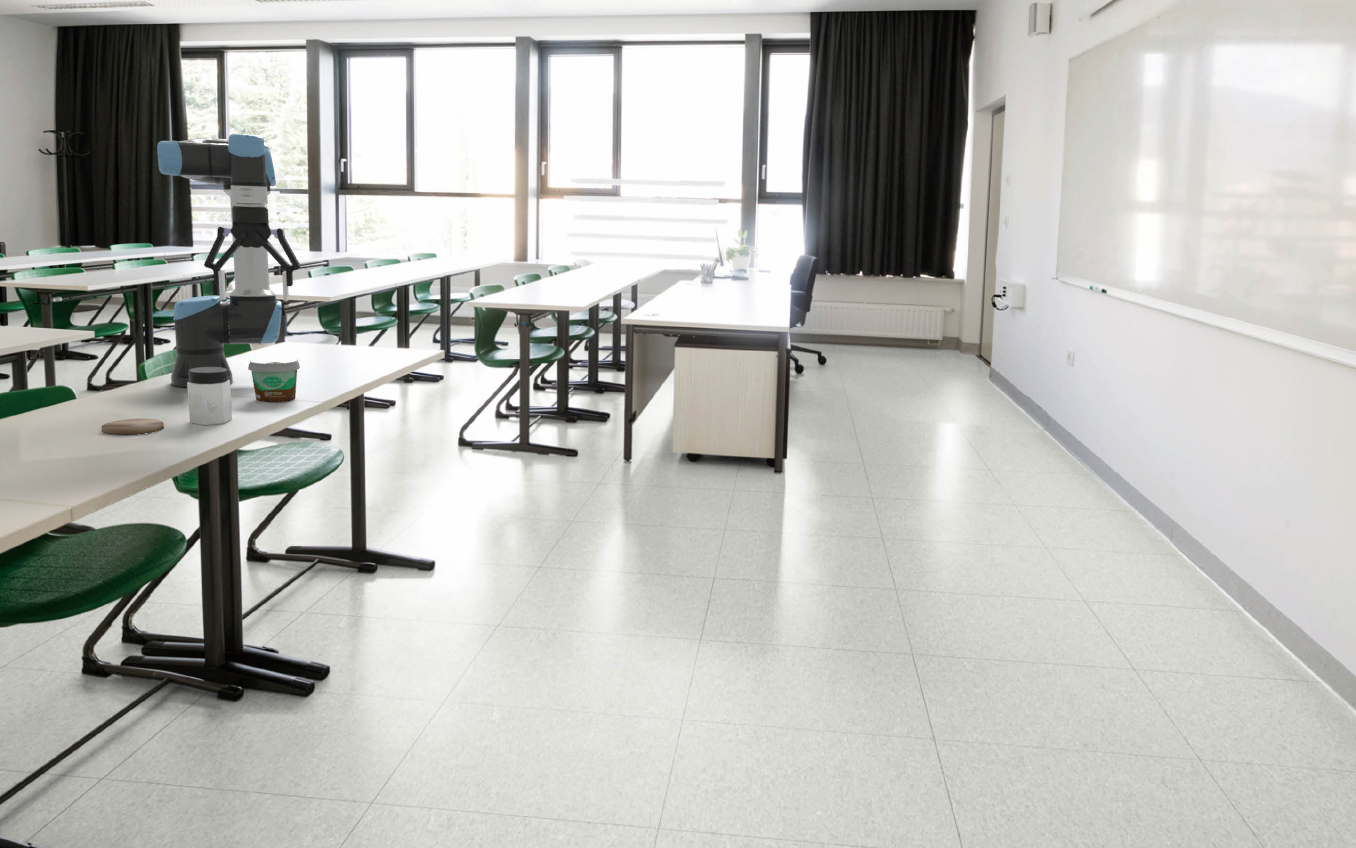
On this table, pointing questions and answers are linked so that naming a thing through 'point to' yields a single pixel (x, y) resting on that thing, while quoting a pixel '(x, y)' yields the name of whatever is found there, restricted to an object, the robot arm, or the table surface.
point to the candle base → (132, 426)
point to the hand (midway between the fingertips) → (254, 300)
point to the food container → (274, 381)
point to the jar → (209, 396)
